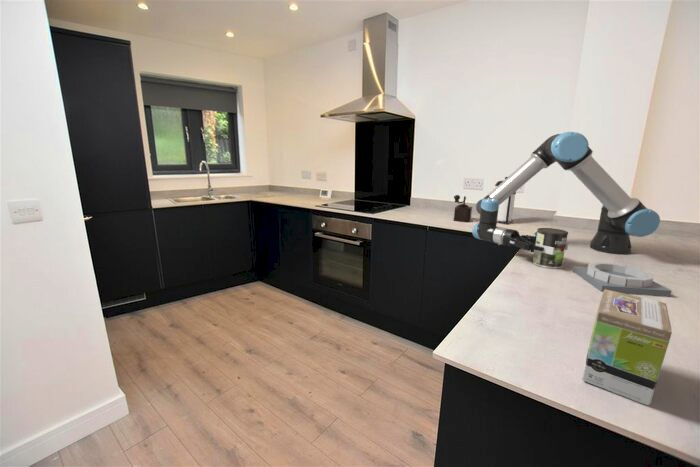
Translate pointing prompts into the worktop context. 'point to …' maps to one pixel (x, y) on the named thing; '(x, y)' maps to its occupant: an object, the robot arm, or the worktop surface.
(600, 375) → the tea box
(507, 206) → the coffee press
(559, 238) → the coffee can
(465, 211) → the manual coffee grinder
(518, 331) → the worktop surface
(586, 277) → the housing
